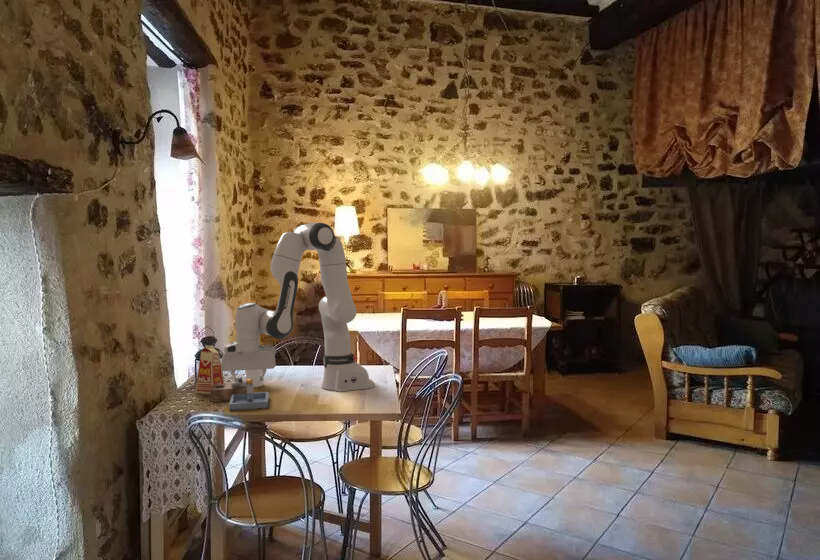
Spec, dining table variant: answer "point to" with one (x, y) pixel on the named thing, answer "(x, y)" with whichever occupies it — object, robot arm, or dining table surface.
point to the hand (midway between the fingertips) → (249, 381)
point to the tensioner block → (228, 390)
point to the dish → (241, 402)
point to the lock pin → (249, 390)
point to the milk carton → (209, 370)
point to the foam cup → (254, 376)
